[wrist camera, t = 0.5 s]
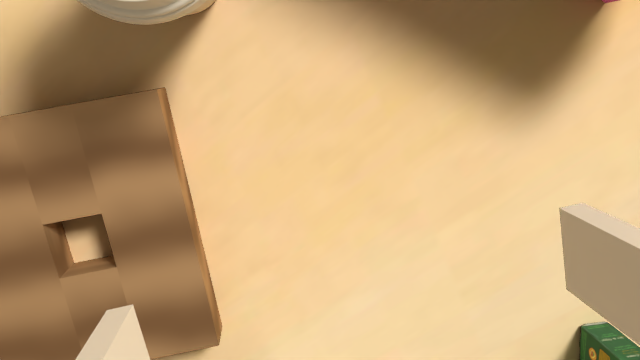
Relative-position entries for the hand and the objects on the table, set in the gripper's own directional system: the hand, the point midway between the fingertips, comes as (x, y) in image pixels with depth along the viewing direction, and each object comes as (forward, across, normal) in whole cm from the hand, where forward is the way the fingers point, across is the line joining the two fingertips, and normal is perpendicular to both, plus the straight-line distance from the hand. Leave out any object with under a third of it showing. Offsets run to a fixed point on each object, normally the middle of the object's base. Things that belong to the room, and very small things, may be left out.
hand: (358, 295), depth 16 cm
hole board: (+26, -17, -3) cm, 31 cm away
